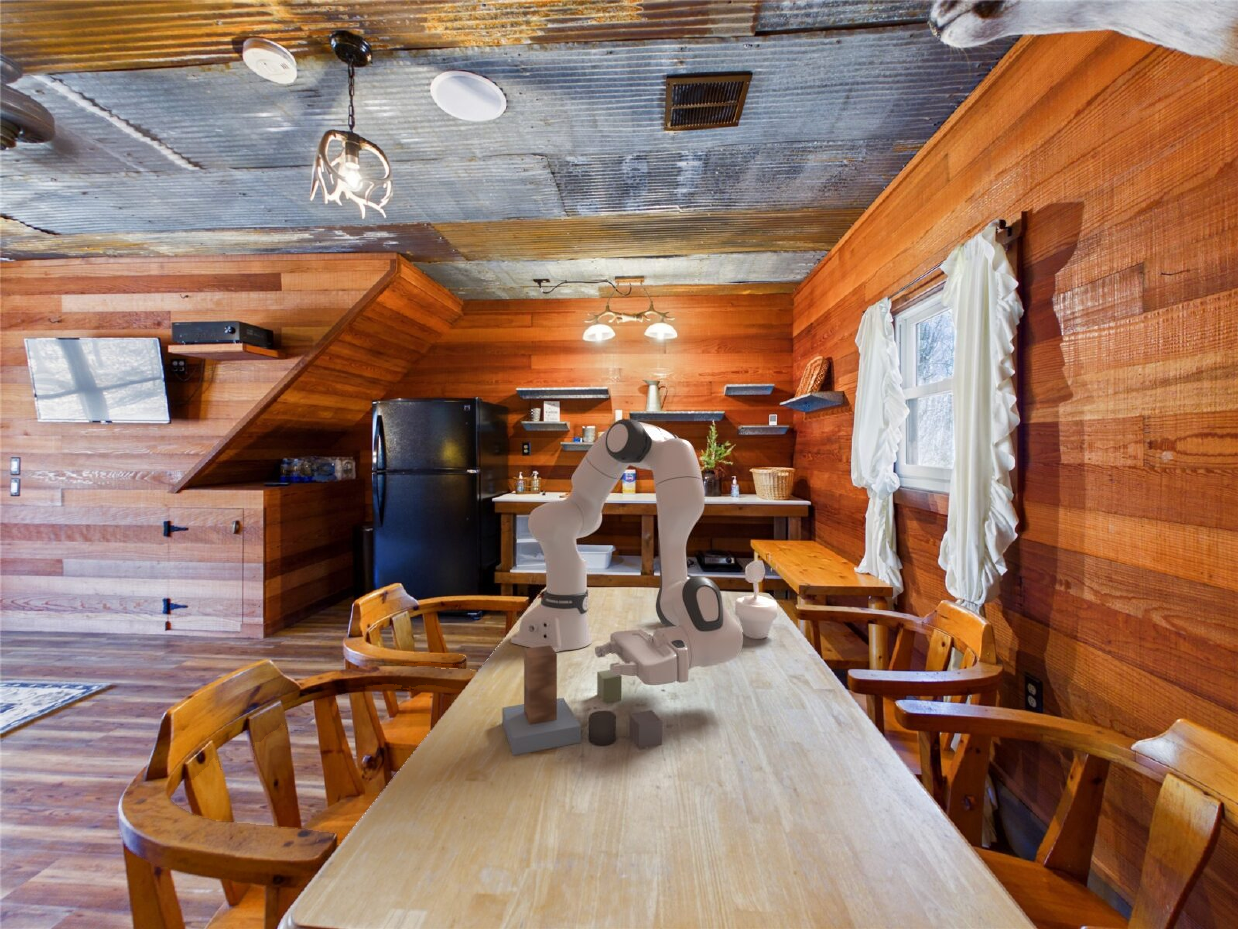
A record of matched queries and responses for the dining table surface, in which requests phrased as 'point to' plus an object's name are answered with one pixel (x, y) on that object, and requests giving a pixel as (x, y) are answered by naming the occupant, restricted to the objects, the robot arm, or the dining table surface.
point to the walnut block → (540, 684)
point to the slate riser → (540, 729)
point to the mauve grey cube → (645, 729)
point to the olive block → (609, 686)
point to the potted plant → (756, 605)
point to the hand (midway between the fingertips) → (603, 660)
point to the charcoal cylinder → (602, 728)
